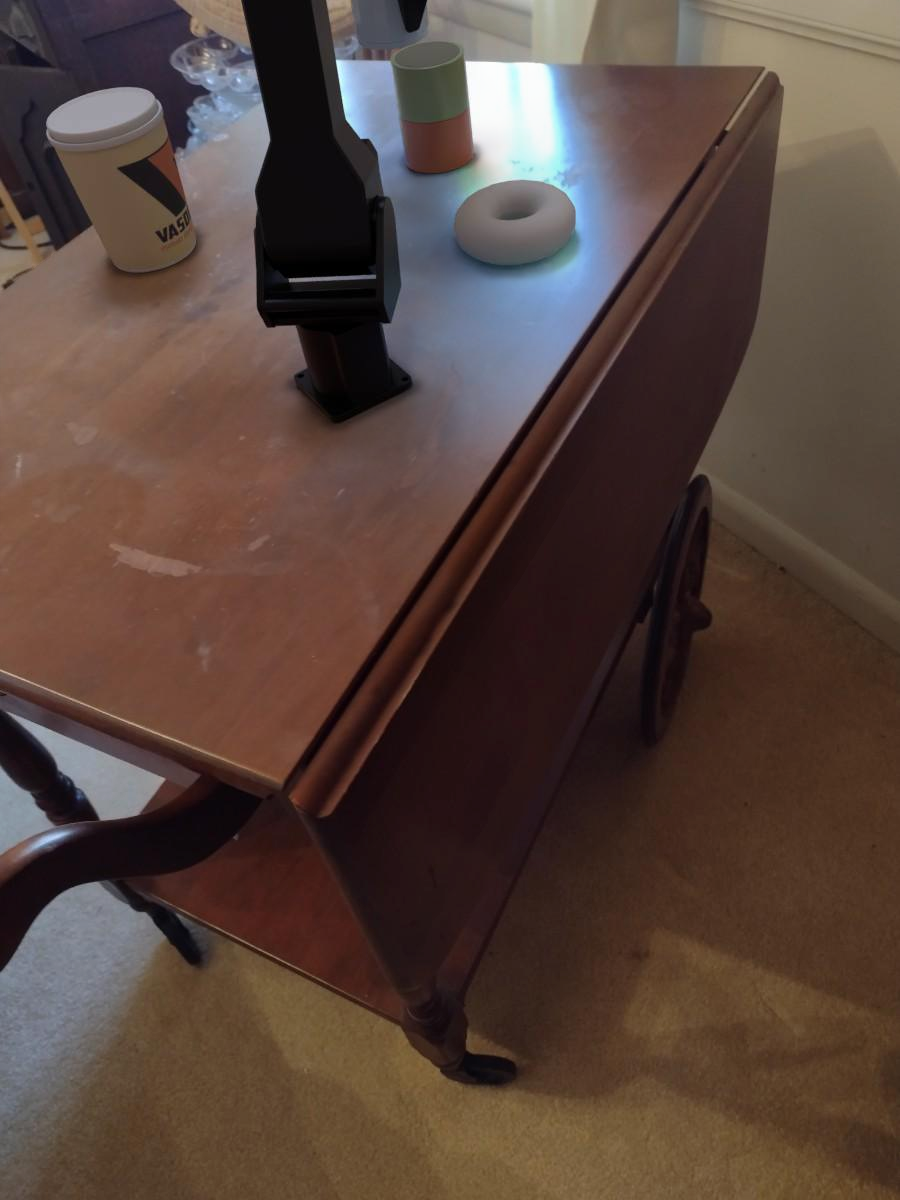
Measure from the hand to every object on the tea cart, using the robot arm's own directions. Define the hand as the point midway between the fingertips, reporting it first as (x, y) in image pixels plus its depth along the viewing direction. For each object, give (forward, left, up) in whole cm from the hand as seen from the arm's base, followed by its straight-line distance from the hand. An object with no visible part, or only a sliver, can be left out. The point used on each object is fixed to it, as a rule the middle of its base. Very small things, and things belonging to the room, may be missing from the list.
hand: (392, 21), depth 75 cm
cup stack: (+2, -4, -13) cm, 14 cm away
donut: (-16, 0, -13) cm, 21 cm away
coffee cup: (+6, +24, -13) cm, 28 cm away
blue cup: (0, 0, -1) cm, 1 cm away
